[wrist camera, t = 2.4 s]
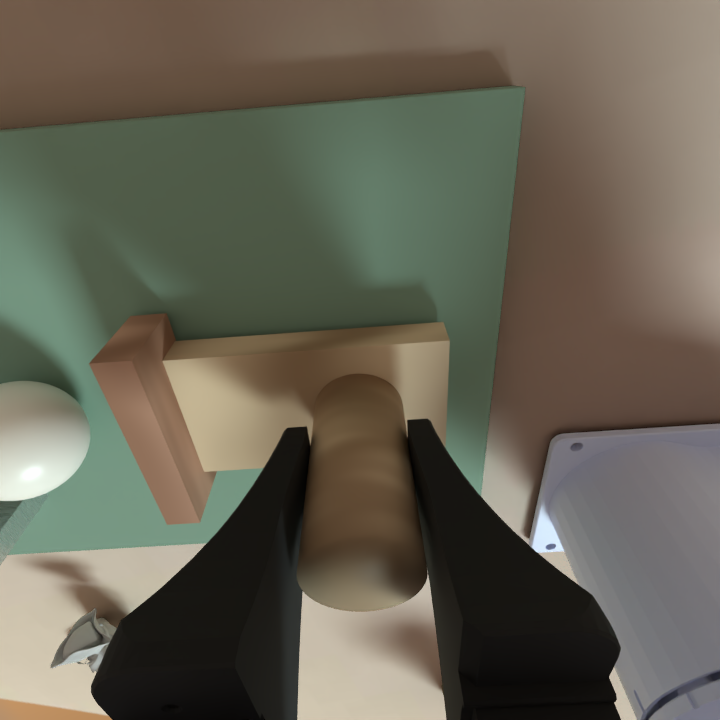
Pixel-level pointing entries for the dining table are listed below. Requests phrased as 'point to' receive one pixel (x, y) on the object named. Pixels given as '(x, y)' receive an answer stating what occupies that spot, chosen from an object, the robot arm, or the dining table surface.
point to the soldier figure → (85, 642)
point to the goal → (16, 520)
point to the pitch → (249, 261)
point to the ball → (39, 438)
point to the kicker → (284, 410)
